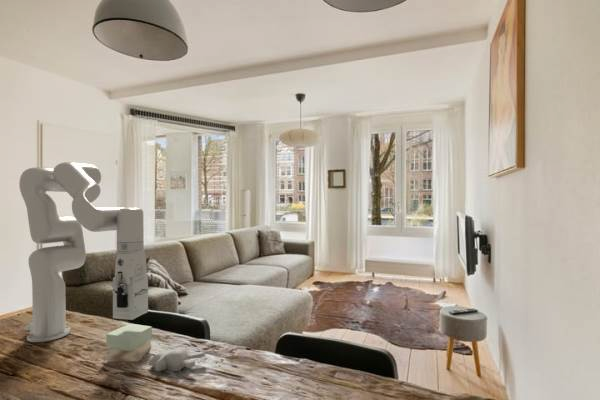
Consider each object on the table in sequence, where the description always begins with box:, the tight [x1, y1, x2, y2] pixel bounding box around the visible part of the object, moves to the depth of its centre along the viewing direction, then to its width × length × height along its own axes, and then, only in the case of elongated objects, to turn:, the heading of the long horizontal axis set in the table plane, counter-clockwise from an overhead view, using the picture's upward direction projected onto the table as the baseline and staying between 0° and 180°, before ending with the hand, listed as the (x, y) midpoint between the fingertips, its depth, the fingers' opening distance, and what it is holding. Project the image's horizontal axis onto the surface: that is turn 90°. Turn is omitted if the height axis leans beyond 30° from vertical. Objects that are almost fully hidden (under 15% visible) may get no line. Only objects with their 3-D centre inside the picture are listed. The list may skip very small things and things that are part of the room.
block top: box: [105, 323, 153, 351], centre depth 105 cm, size 9×9×4 cm
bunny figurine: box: [148, 347, 206, 372], centre depth 97 cm, size 10×5×15 cm
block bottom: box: [107, 339, 152, 363], centre depth 105 cm, size 9×9×4 cm
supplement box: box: [112, 273, 149, 321], centre depth 105 cm, size 7×7×13 cm
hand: (130, 302), depth 105 cm, fingers closed on supplement box, 7 cm apart
